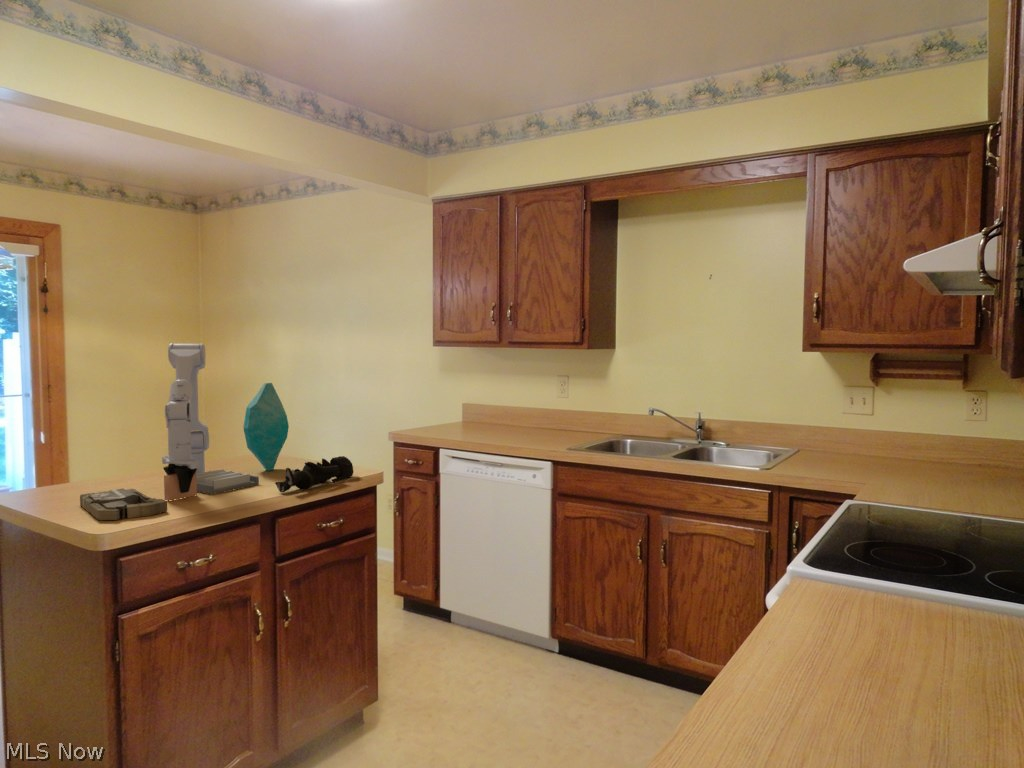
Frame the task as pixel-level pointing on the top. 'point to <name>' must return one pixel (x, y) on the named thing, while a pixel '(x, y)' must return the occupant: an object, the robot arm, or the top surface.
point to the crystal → (266, 426)
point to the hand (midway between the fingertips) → (180, 491)
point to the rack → (223, 481)
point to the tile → (173, 487)
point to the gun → (121, 504)
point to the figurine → (317, 473)
